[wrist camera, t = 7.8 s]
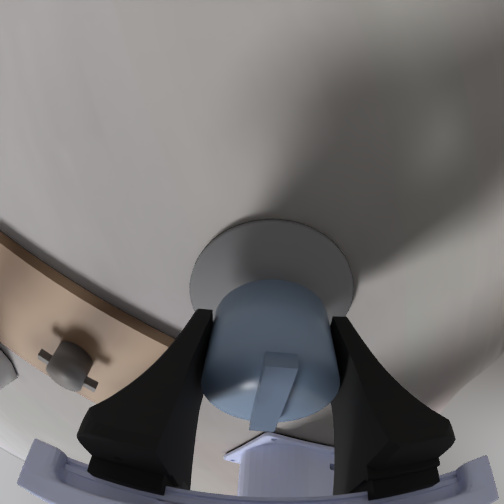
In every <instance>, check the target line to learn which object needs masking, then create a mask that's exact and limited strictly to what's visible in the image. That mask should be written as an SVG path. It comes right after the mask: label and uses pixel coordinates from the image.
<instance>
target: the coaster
mask: <svg viewBox="0 0 504 504" xmlns="http://www.w3.org/2000/svg"><path fill="white" fill-rule="evenodd" d="M268 279H275V280H285V281H290V282H293V283H297V284H299V285H302V286H304V287H306V288H307V289H309V290H311V291H312V292H313V293H315V294H316V295H317V296H318V297H319V298H320V299H321V301H322V302H323V304H324V306H325V308H326V310H327V314H328V319H329V324H330V325H331V321H332V317H333V316H339V317H345V316H346V314H347V312H348V311H349V308H350V305H351V303H352V298H353V288H354V285H353V277H352V274H351V270H350V267H349V265H348V262H347V260H346V258H345V256H344V255H343V253H342V252H341V250H340V249H339V248H338V247H337V245H336V244H335V243H334V242H333V241H332V240H330V239H329V238H328V237H327V236H325V235H324V234H323V233H321V232H319V231H317V230H315V229H314V228H311V227H309V226H306V225H304V224H301V223H297V222H293V221H288V220H280V219H265V220H256V221H251V222H247V223H243V224H240V225H238V226H235V227H232V228H230V229H229V230H227V231H225V232H223V233H221V234H220V235H219V236H217V237H216V238H215V239H213V240H212V241H211V242H210V243H209V244H208V245H207V246H206V247H205V248H204V250H203V251H202V252H201V254H200V255H199V257H198V259H197V261H196V263H195V266H194V268H193V271H192V274H191V279H190V298H191V303H192V305H193V308H194V311H196V310H197V309H210V310H213V321H214V316H215V312H216V309H217V307H218V305H219V303H220V302H221V301H222V299H223V298H224V297H225V296H226V295H227V294H228V293H230V292H231V291H232V290H234V289H236V288H238V287H239V286H241V285H244V284H247V283H250V282H254V281H259V280H268Z"/></svg>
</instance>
